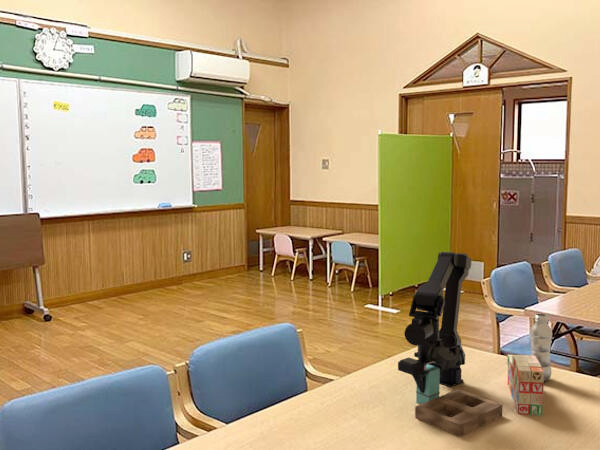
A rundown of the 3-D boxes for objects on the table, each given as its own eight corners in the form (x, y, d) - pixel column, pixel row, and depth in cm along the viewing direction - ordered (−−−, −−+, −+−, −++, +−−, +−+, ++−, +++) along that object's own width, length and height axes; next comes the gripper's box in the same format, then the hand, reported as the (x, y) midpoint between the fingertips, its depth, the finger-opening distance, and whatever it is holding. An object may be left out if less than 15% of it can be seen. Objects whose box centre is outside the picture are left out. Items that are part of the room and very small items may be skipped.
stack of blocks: (506, 384, 174) (507, 344, 173) (529, 385, 173) (530, 345, 172) (517, 414, 154) (518, 369, 152) (543, 416, 152) (544, 370, 151)
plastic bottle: (553, 378, 178) (555, 313, 176) (549, 385, 173) (551, 319, 171) (530, 374, 182) (532, 311, 180) (526, 381, 176) (527, 316, 174)
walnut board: (415, 417, 152) (415, 406, 152) (457, 399, 164) (457, 389, 163) (460, 436, 142) (460, 424, 141) (502, 415, 153) (502, 404, 152)
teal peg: (416, 402, 162) (416, 367, 161) (426, 398, 165) (426, 363, 164) (429, 407, 159) (429, 371, 158) (439, 403, 161) (439, 368, 160)
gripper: (429, 349, 148) (429, 409, 149) (473, 335, 159) (473, 390, 161) (396, 339, 156) (396, 395, 158) (440, 326, 168) (440, 379, 170)
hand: (427, 390), depth 161 cm, fingers closed on teal peg, 4 cm apart
